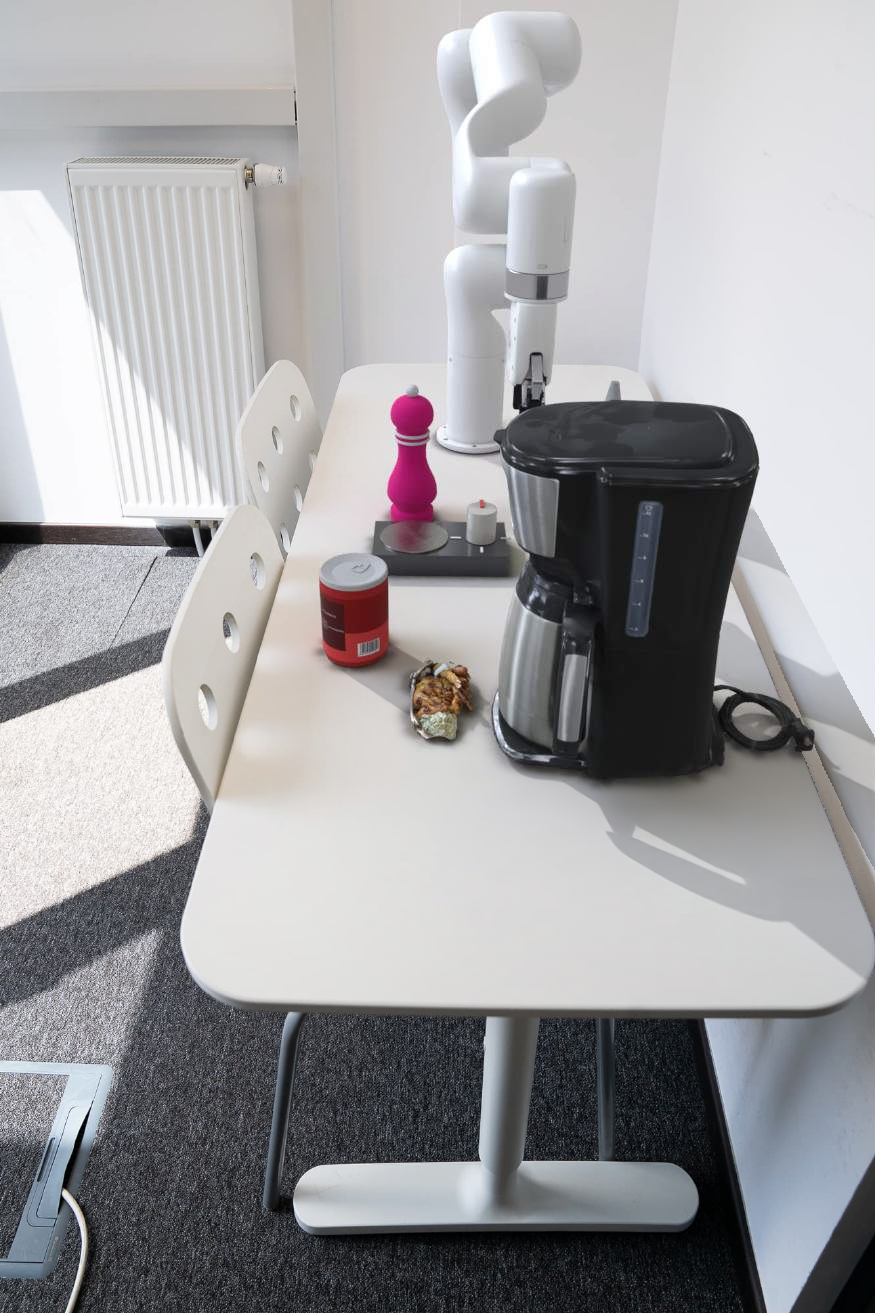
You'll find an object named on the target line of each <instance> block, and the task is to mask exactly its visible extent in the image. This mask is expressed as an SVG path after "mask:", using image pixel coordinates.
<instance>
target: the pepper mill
mask: <svg viewBox="0 0 875 1313" xmlns="http://www.w3.org/2000/svg"><path fill="white" fill-rule="evenodd" d="M419 392H420V390H419V387H418V386H417V385H416V384H414V383H413V384H408V385H407V386H406V388H405V394H403V395H401V396H399V397H398V398H396V399H395V400H394V401H393V403H392V405H391V408H390V414H389V415H390V416H389V417H390V421H391V423H392V424H393V426H394V427H395V429H394V430H393V433H394V437H393V439H394V442H396V443H397V457H396V458H397V459H396V462H395V465H394V467H393V469H392V472H391V473H390V476H389V478H388V482H387V488H386V495H387V498H388V499H389V501H390V502H391V503H392V504H391V505H390V520H391V521H426V522H433V520H434V505H433V504H432V503H433V502H434V501H435V500H436V498H437V495H438V486H437V481H436V479H435V475H434V473H433V471H432V470H431V467H430V465H429V463H428V458H427V445H428V443H429V442H430V440H431V436H430V434H431V430H430V428H429V427H431V425H432V424H433V422H434V416H435V411H434V407H433V405H432V403H431V401H430V400H429V399H428V398H427V397H425V396H423V395H420V394H419Z"/></svg>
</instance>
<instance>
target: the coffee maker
mask: <svg viewBox="0 0 875 1313" xmlns="http://www.w3.org/2000/svg"><path fill="white" fill-rule="evenodd" d="M505 428H506V429H500V430H496V432H495V434H494V437H493V440H494V441H495V442H497V443H498V444H499V445H500V450H499V451H500V452H499V453H500V463H501V467H502V470H503V471H504V474H505V477H506V484H507V492H508V501H509V508H510V525H511V530H512V534H513V536H514V538H515V541H516V543H517V545H518V546H519V548H521V549H522V550H523V551H524V553H527V554H529V555H528V558H527V560H526V562H525V564H524V565H523V568H522V570H521V573H520V575H519V577H518V579H516V582H515V585H514V588H513V592H512V596H511V600H510V603H509V608H508V612H507V616H506V621H505V626H504V631H503V637H502V643H501V649H500V657H499V666H498V688H497V690H496V692H495V694H494V697H493V702H492V705H491V726H492V731H493V735H494V738H495V741H496V744H497V745H498V748H499V749H500V751H501V752H502V753H503V754H504V755H505V756H506V757H507V758H509V759H511V760H513V761H515V762H517V763H521V764H527V765H532V766H533V765H534V766H540V767H550V768H557V769H568V770H573V771H583V772H587V774H588V775H589V777H591V779H593V780H607V779H624V778H662V777H680V776H686V775H690V774H695V773H701V772H703V771H705V770H707V769H710V768H711V767H714V766H718V767H722V766H723V765H724V763H725V760H726V759H725V751H726V749H725V748H726V746H725V745H726V744H725V742H726V741H725V734H726V735H727V737H729V738H730V739H731V740H733V741H734V742H735V743H737V744H738V745H740V746H741V747H743V748H745V749H748V750H751V751H755V752H759V753H760V752H774V751H778V750H780V749H782V748H783V747H785V746H786V745H787V744H788V742H789V741H790V739H791V738H793V741H794V743H795V746H794V751H795V752H811V751H813V748H814V741H815V735H816V733H815V730H814V729H813V728H812V729H810V728H808V727H807V726H806V725H805V724H804V723H803V721H802V719H801V718H800V717H797V716H796V714H795V712H794V711H793V710H792V709H791V708H790V707H789V706H788V705H787V704H785V702H782V701H781V700H779V699H778V698H775V697H772V696H769V695H766V694H762V693H758V692H751V691H749V692H748V691H747V692H746V691H745V690H743V689H740V688H738V687H736V686H731V685H728V684H716V671H717V664H718V663H717V661H718V654H719V644H720V638H721V629H722V624H723V619H724V616H725V610H726V605H727V600H728V596H729V590H730V587H731V586H730V585H731V581H732V576H733V573H734V570H735V565H736V559H737V556H738V552H739V548H740V544H741V541H742V537H743V536H742V535H743V532H744V528H745V524H746V522H747V517H748V514H749V511H750V506H751V503H752V499H753V496H754V492H755V487H756V482H757V479H758V476H759V472H760V469H761V467H760V457H759V450H758V447H757V443H756V440H755V437H754V433H753V432H752V431H751V428H750V426H749V425H748V423H747V422H746V420H745V419H744V418H743V417H742V416H741V415H739V414H738V413H736V412H734V411H732V410H730V409H728V408H725V407H723V406H718V405H713V404H705V403H693V402H681V401H679V402H677V401H657V400H635V399H634V400H633V399H621V400H609V401H605V400H601V401H600V400H599V401H598V400H595V401H594V400H593V401H589V400H588V401H587V400H586V401H585V400H584V401H565V402H556V403H549V404H545V405H544V406H539V407H535V408H532V409H529V410H527V411H524V412H522V413H520V414H519V413H518V414H517V415H516V416H514V417H513V418H512V419H511V420H510V421H509V423H508V424H507V425H506V427H505ZM715 684H716V685H715ZM723 690H728V691H731V692H733V693H734V694H732V695H729V696H727V697H726V698H725V700H724V701H723V703H722V705H721V706H720V708H719V710H718V708H717V706H716V704H715V702H714V693H715V692H719V691H723ZM744 703H745V704H746V703H747V704H748V703H749V704H750V703H751V704H752V703H753V704H758V705H759V706H761V707H762V708H764V709H765V710H767V711H769V712H770V713H771V714H772V715H774V717H775V718H776V719H777V720H778V722H779V724H780V726H781V728H780V730H779V732H778V734H776V735H775V736H774V737H771V738H770V739H766V740H758V739H752V738H750V737H748V736H746V735H745V734H744V733H742V732H741V731H740V730H739V729H738V728H737V726H736V725H735V723H734V721H733V713H734V711H735V709H736V708H737V707H738V706H740V705H742V704H744ZM724 733H725V734H724Z"/></svg>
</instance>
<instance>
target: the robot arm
mask: <svg viewBox="0 0 875 1313" xmlns="http://www.w3.org/2000/svg"><path fill="white" fill-rule="evenodd" d="M582 54H583V44H582V38H581V33H580V29H579V27H578V25H577V23H576V21H575V20H574V19H573V17H571V16H570V15H569V14H567V13H565V12H561V11H538V10H537V11H536V10H535V11H533V10H531V11H530V10H527V11H525V10H503V11H495V12H492V13H490V14H487V15H485V16H484V17H482V18H481V19H480V20H479V21H478V22H477V23H476V24H475V26H474V27H470V28H469V27H468V28H461V29H457V30H454V31H451V32H449V33H447V34H446V35H444V36H443V37H442V39H440V41H439V44H438V46H437V52H436V73H437V82H438V88H439V93H440V96H441V99H442V100H441V101H442V103H443V106H444V109H445V112H446V113H445V114H446V116H447V119H448V122H449V126H450V132H451V143H452V144H451V148H452V149H451V150H452V151H451V155H452V156H451V157H452V158H451V161H452V163H451V165H452V166H451V168H452V170H451V171H452V173H451V175H452V176H451V177H452V182H451V183H452V192H451V193H452V212H453V213H452V214H453V219H454V223H455V225H456V228H458V230H459V231H462V232H463V233H466V234H471V235H507V236H506V243H473V244H472V243H471V244H465V245H461V246H458V247H456V248H454V249H453V250H451V251H450V252H448V254H447V256H446V257H445V259H444V262H443V270H442V271H443V272H442V274H443V275H442V276H443V284H444V286H443V287H444V293H445V302H446V303H445V304H446V312H447V356H446V357H447V361H446V363H447V364H446V366H447V367H446V369H447V370H446V408H445V410H446V411H445V412H446V413H445V424H443V425H442V426H440V427H439V429H437V431H436V440H437V442H438V443H439V444H440V446H442V447H444V448H446V449H448V450H451V451H454V452H459V453H465V454H488V453H493V452H497V451H500V445H499V444H498V443H497V442H495V441H494V440H493V437H494V434H495V432H496V430H500V429H506V427H505V426H503V414H504V399H505V398H504V397H505V377H506V371H507V374H508V378H509V379H508V380H509V383H510V384H511V385H512V386H513V390H512V392H513V393H512V408H513V410H516V411H518V415H519V414H520V413H522V412H524V411H527V410H529V409H532V408H535V407H539V406H544V405H546V387H548V386H549V385H550V384H551V380H552V376H553V375H552V374H553V365H554V358H555V357H554V355H555V344H556V330H557V316H558V303H562V302H565V301H567V299H568V297H569V296H568V294H569V284H570V283H569V282H570V273H571V272H570V271H571V259H572V248H573V236H574V235H573V234H574V224H575V223H574V222H575V211H576V210H575V209H576V200H577V199H576V197H577V177H576V174H575V173H574V172H573V170H572V168H571V166H570V164H569V163H568V162H567V161H566V160H564V159H562V158H559V157H551V156H510V146H512V145H514V144H517V143H518V142H520V141H522V140H524V139H526V138H528V137H529V136H531V135H532V134H533V133H534V132H535V131H536V130H537V129H538V128H539V127H540V126H541V124H542V123H543V121H544V119H545V116H546V113H547V107H548V102H547V101H548V100H547V98H550V97H553V96H555V95H557V94H559V93H561V92H563V91H565V90H566V89H567V88H569V87H570V86H571V85H572V84H573V83H574V82H575V80H576V78H577V77H578V74H579V71H580V69H581V65H582V56H583V55H582ZM509 309H510V316H509V326H508V327H509V329H508V343H507V335H506V332H505V329H504V328H503V326H502V325H501V323H500V322H499V320H498V319H497V318H496V317H495V316H494V315H493V314H492V311H495V310H509ZM506 369H507V370H506Z"/></svg>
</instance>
